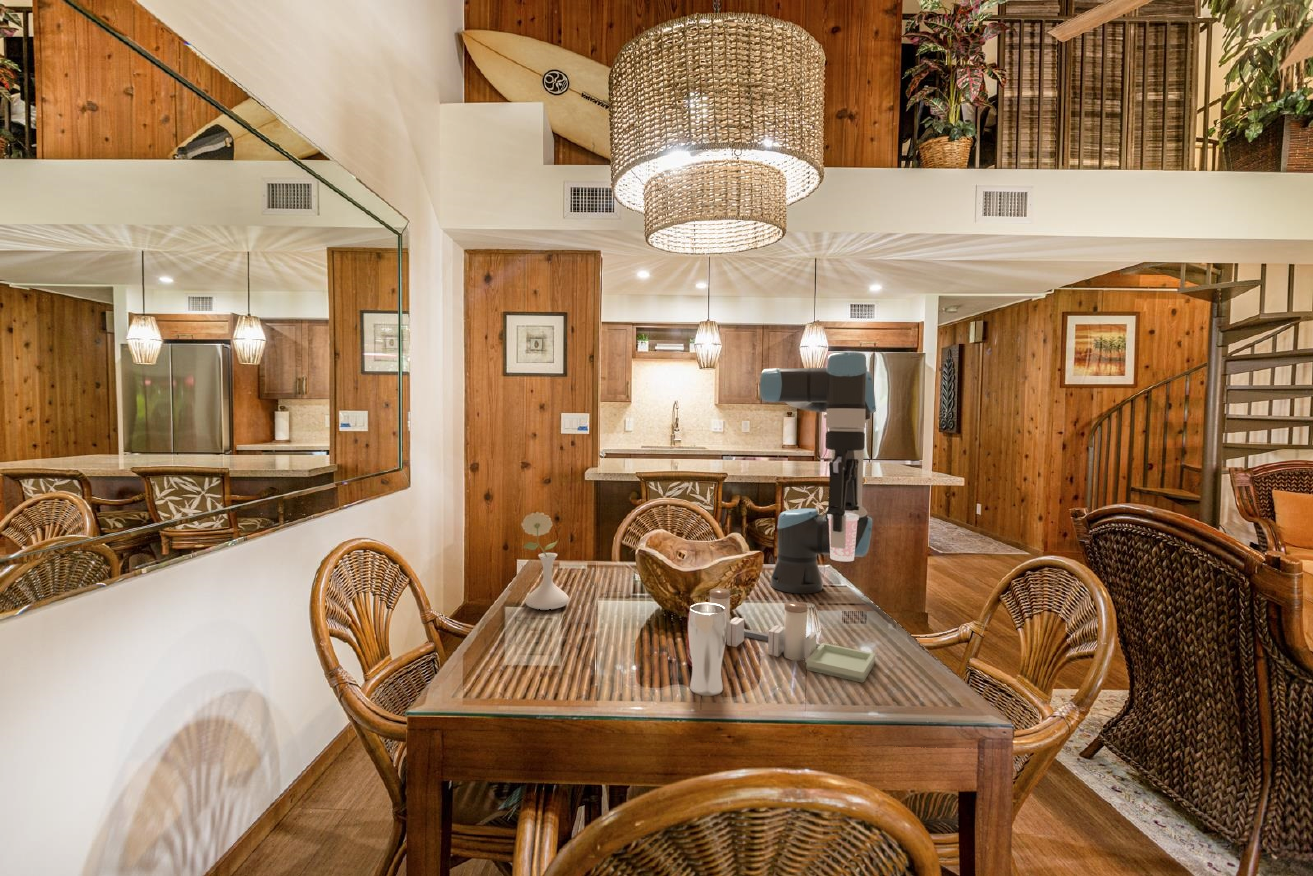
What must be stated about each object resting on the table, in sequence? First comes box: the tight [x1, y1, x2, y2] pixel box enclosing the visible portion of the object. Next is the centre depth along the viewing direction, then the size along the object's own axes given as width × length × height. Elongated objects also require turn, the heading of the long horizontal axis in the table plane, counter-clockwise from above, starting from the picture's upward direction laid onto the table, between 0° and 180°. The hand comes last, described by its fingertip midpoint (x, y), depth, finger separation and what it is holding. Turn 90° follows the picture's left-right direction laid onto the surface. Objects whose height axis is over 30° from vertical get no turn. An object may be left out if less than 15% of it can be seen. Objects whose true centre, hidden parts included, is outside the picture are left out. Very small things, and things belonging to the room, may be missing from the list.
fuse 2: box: [783, 600, 808, 661], centre depth 126 cm, size 5×5×11 cm
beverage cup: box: [827, 513, 859, 562], centre depth 121 cm, size 6×6×14 cm
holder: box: [726, 617, 821, 664], centre depth 133 cm, size 8×26×5 cm, turn 59°
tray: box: [805, 642, 876, 684], centre depth 121 cm, size 11×11×2 cm
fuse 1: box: [709, 587, 731, 644], centre depth 135 cm, size 5×5×11 cm
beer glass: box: [688, 602, 727, 697], centre depth 110 cm, size 7×7×15 cm
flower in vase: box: [520, 511, 570, 611], centre depth 157 cm, size 13×11×25 cm
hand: (842, 544), depth 121 cm, fingers closed on beverage cup, 6 cm apart
